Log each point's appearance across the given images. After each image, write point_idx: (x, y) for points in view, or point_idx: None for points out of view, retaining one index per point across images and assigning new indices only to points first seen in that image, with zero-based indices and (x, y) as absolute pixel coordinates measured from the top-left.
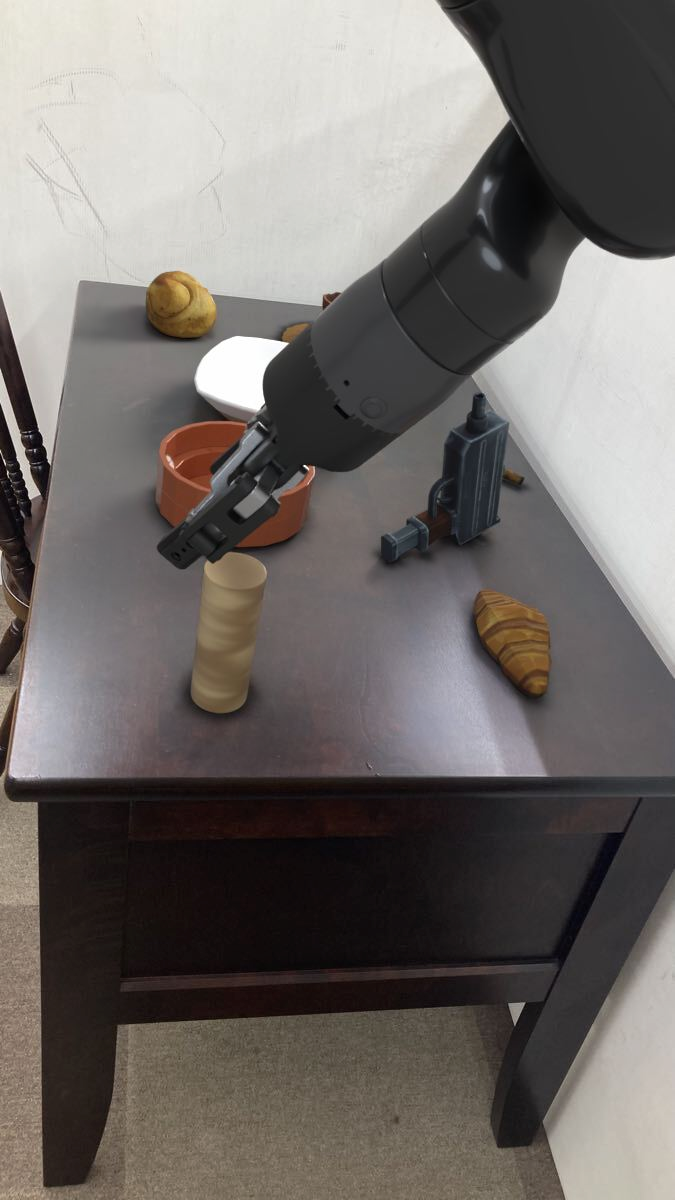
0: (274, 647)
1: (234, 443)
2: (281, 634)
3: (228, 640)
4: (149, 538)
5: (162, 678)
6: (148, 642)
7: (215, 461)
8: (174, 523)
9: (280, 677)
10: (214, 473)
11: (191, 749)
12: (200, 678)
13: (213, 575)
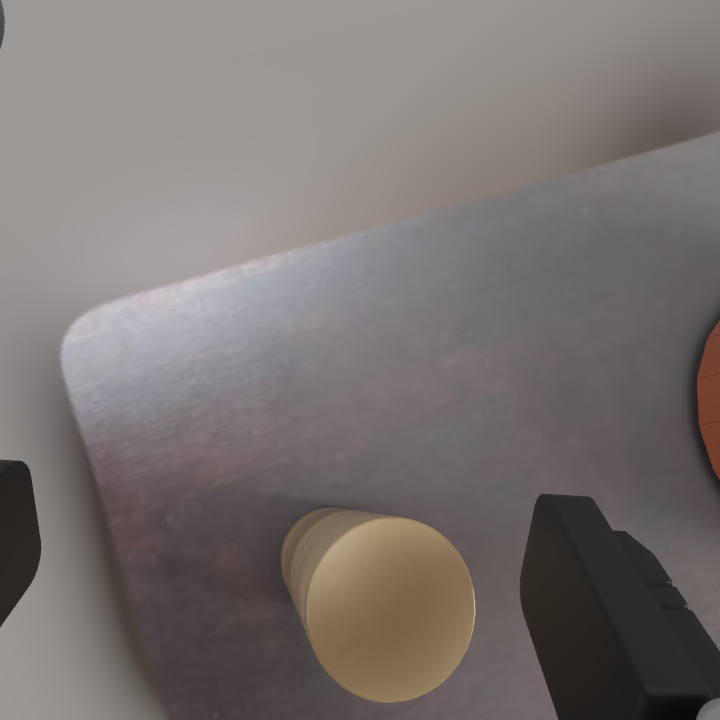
0: (485, 617)
1: (648, 627)
2: None
3: (294, 603)
4: (660, 311)
5: (331, 452)
6: (407, 400)
7: (568, 516)
8: (711, 339)
9: None
10: (537, 516)
11: (184, 557)
12: (293, 535)
13: (342, 557)
